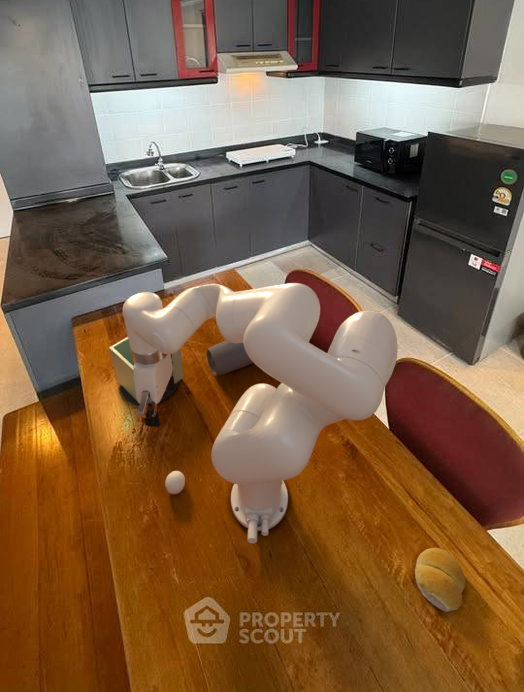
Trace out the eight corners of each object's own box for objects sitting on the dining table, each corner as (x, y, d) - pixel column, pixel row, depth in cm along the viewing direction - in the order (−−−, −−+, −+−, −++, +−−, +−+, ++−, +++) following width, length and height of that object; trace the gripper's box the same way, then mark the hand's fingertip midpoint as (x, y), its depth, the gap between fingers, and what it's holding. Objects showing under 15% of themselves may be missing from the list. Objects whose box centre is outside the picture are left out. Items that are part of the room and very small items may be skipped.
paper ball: (183, 498, 84) (182, 486, 82) (164, 498, 84) (161, 486, 82) (187, 478, 88) (185, 466, 86) (168, 478, 88) (166, 466, 86)
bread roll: (466, 571, 73) (471, 560, 71) (456, 623, 66) (462, 613, 64) (422, 541, 77) (425, 530, 75) (408, 587, 70) (412, 577, 69)
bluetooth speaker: (218, 386, 112) (216, 361, 107) (206, 365, 119) (204, 340, 115) (284, 359, 122) (285, 334, 117) (269, 341, 129) (270, 317, 125)
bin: (116, 380, 112) (107, 342, 106) (156, 353, 122) (150, 318, 116) (143, 407, 104) (135, 368, 98) (184, 376, 113) (179, 339, 107)
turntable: (173, 406, 106) (172, 403, 105) (112, 405, 106) (111, 403, 105) (184, 360, 121) (184, 358, 121) (131, 360, 121) (131, 357, 121)
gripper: (149, 320, 87) (159, 375, 94) (113, 379, 72) (129, 440, 79) (180, 322, 86) (188, 377, 94) (152, 383, 71) (163, 443, 78)
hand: (161, 406), depth 86 cm, fingers open, 9 cm apart
